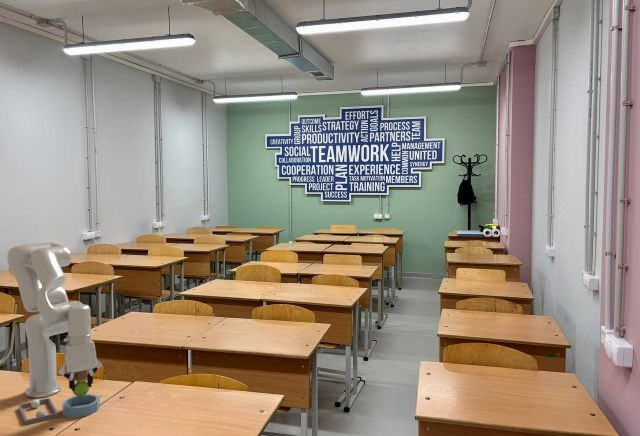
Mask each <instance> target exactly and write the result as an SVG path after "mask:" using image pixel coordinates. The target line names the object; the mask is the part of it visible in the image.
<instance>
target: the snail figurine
mask: <svg viewBox="0 0 640 436" xmlns="http://www.w3.org/2000/svg"><path fill="white" fill-rule="evenodd" d="M87 375H88V370H85V371H81V372H76V373H74V377H73V379H74V381H75V390H74V391H72V393H73V394H74V395H73V396H78V397H81V396H84V395H86V394H88V392H89V390H90V387H89V385H88V383H87V379H88V378H87Z"/></svg>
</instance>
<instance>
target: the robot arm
mask: <svg viewBox="0 0 640 436" xmlns="http://www.w3.org/2000/svg"><path fill="white" fill-rule="evenodd" d="M71 262H72V253H71V251H70V250H69V248H68V247H66V246H65V245H62V244H58V243H55V242H39V243H26V244H19V245H15V246H13V247H12V248H10V249H9V250H8V252H7V265H8V268H9V270H10V271H11V274H12V275H13V277H14V279H15V280H16V282H17V286H18V290H19V293H20V297H21V298H20V299H21V302H22V304H23V308H24V309H25V311H26V312H28V313H34V312H35V313H36V312H38V313H36V314H33V315H31V316H29V317H28V318H27V319H26V321H25V323H24V329H25V334H26V338H27V349H28V371H29V372H28V373H29V375H28V376H29V387H28V388H27V389H26V390H25V391H24V392H25V393H24V394H25V396H26V397H28V398H34V399H37V398H44V397H49V396H52V395H55V394H57V393H58V392H60V391H61V389H62V384H60V383H58V380H57V376H58V375H57V373H58V374H59V375H60V376H63V377H64V378H66V379H67V380H68V388H69V389H70V390H71V391H72V392H73V391H74V390H75V384H76V381H75V380H74V379H73V377H74V373H76V372H81V371H85V370H86V371H87V377H86V378H88V379H87V380H86V382H87V383H88V385H89V388H92V384H94V380H93V379H94V375H95V373H96V372H97V371H98V369H100V368H101V367H103V366H102V365H103V363H102V362H101V361H100V360H99V359H97V351H96V345H95V341H94V340H93V339H92V326H91V325H92V319H91V307H90V305H88V304H83V303H82V302H81V301H78V300H73V301H69V298H68V297H69V296H68V294H67V292H66V290H65V288H64V287H63V286H62V285H63V284H65V282H66V275H65V273H64V271H63V269H62V268H63V267H64V268H65V267H68V266H69V265H70V264H71ZM31 266H32V267H33V268H32V267H31ZM64 333H67V337H64V338H63V342H64V343H66V345H65V352H64V363H63V365H62V366H61V367H60V368H59V370H58V371H57V349H56V344H55V343H54V342H53V341H52V340H51V339H50V337H52V336H55V335H56V336H57V335H60V334H64Z"/></svg>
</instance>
